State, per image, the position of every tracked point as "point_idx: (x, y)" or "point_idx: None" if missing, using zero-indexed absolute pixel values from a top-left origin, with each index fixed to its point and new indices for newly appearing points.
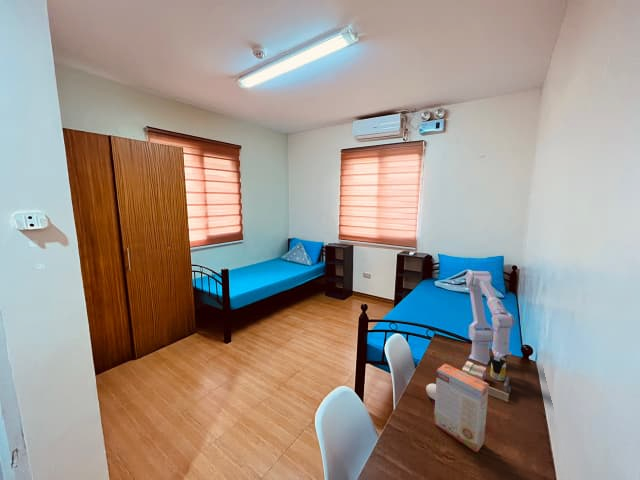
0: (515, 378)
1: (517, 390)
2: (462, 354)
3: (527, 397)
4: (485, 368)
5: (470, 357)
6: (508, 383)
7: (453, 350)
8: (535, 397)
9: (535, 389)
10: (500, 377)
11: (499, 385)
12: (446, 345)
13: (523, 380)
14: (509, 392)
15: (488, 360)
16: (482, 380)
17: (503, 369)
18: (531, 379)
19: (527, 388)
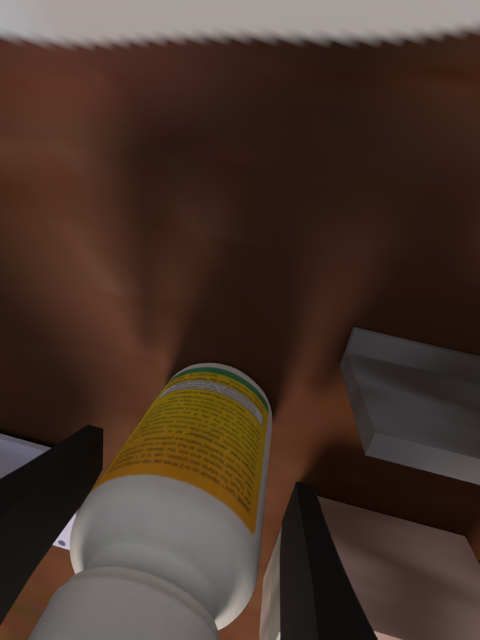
0: (135, 265)
1: (362, 273)
2: (55, 563)
3: (464, 188)
4: None
5: (66, 542)
6: (365, 375)
7: (47, 596)
8: (425, 92)
9: (233, 73)
10: (266, 419)
11: (351, 410)
12: (19, 616)
13: (120, 191)
14: (457, 355)
15: (7, 443)
16: (437, 572)
17: (241, 480)
18: (36, 100)
19: (263, 166)
